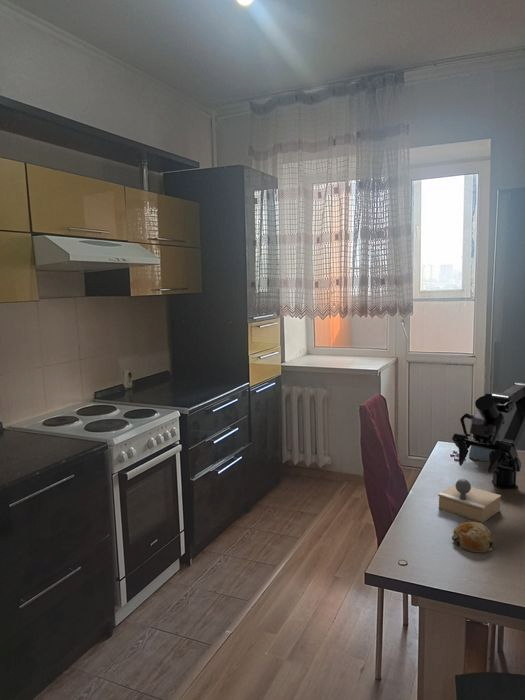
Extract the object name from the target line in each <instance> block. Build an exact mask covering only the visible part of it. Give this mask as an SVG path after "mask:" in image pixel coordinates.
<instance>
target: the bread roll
mask: <svg viewBox="0 0 525 700" xmlns="http://www.w3.org/2000/svg"><path fill="white" fill-rule="evenodd" d="M493 536H494V535H493V533H492V532H491V530H490V529H489V528H488V527H487V526H486V525H484V523H480V522H477V521H467V522H466V521H465V522H463V523H460V524H459V525H458V526H457V527H456V528H454V529H453V533H452V536H451V539H452V541H453V542H455V545H456V546H457V547H459V548H460V549H461V550H465V551H467V552H472V553H478V554H479V553H481V554H483V553H487V552H489V553H490V552H492V551H493V545H494V537H493Z"/></svg>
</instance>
